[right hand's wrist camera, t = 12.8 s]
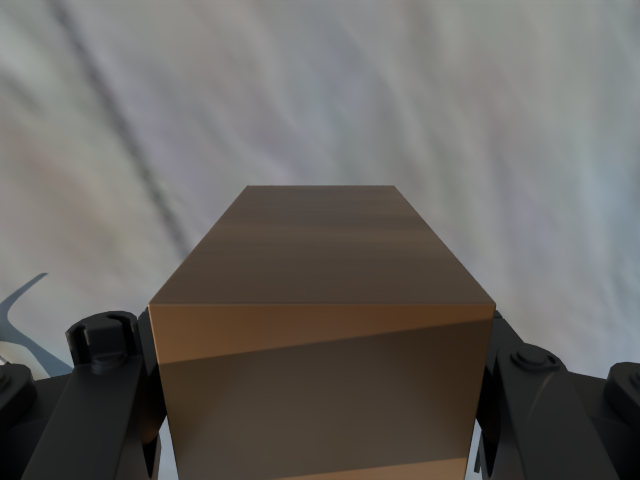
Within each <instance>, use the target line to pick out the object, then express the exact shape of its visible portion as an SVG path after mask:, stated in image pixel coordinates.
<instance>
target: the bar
mask: <svg viewBox="0 0 640 480" xmlns="http://www.w3.org/2000/svg"><path fill="white" fill-rule="evenodd" d="M148 309H149V315H150V321H151V326H152V332H153V338H154V343H155V349H156V354H157V360H158V366H159V371H160V377H161V383H162V388H163V394H164V400H165V405H166V411H167V416H168V422H169V428H170V433H171V439H172V445H173V450H174V456H175V461H176V467H177V473H178V478H179V480H465V475H466V469H467V464H468V458H469V453H470V447H471V442H472V436H473V430H474V425H475V419H476V414H477V408H478V403H479V397H480V392H481V386H482V381H483V375H484V370H485V364H486V359H487V353H488V348H489V342H490V337H491V331H492V326H493V320H494V315H495V309H496V303H495V302H494V300H493V299H492V298H491V297H490V296H489V295H488V294H487V292H486V291H485V290H484V289H483V288H482V287H481V285H480V284H479V283H478V282H477V281H476V280H475V279H474V277H473V276H472V275H471V274H470V273H469V272H468V270H467V269H466V268H465V267H464V266H463V265H462V264H461V262H460V261H459V260H458V259H457V258H456V257H455V255H454V254H453V253H452V252H451V251H450V250H449V249H448V247H447V246H446V245H445V244H444V243H443V242H442V240H441V239H440V238H439V237H438V236H437V235H436V234H435V232H434V231H433V230H432V229H431V228H430V227H429V225H428V224H427V223H426V222H425V221H424V220H423V219H422V217H421V216H420V215H419V214H418V213H417V212H416V211H415V209H414V208H413V207H412V206H411V205H410V204H409V202H408V201H407V200H406V199H405V198H404V197H403V196H402V194H401V193H400V192H399V191H398V190H397V189H396V187H395V186H247V187H246V188H245V189H244V190H243V191H242V193H241V194H240V195H239V196H238V197H237V198H236V200H235V201H234V202H233V203H232V204H231V206H230V207H229V208H228V209H227V210H226V212H225V213H224V214H223V215H222V216H221V217H220V219H219V220H218V221H217V222H216V223H215V225H214V226H213V227H212V228H211V229H210V231H209V232H208V233H207V234H206V235H205V236H204V238H203V239H202V240H201V241H200V242H199V244H198V245H197V246H196V247H195V248H194V250H193V251H192V252H191V253H190V254H189V255H188V257H187V258H186V259H185V260H184V261H183V263H182V264H181V265H180V266H179V267H178V269H177V270H176V271H175V272H174V273H173V275H172V276H171V277H170V278H169V279H168V280H167V282H166V283H165V284H164V285H163V286H162V288H161V289H160V290H159V291H158V292H157V294H156V295H155V296H154V297H153V298H152V299H151V301H150V302H149V303H148Z"/></svg>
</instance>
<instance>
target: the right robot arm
mask: <svg viewBox="0 0 640 480" xmlns="http://www.w3.org/2000/svg"><path fill="white" fill-rule="evenodd" d="M65 334H66V337H67V341H68V345H69V348H70V352H71V356H72V359H73V363H74V369H73V371H72V373H70V374H66V375H62V376H57V377H52V378H47V379H42V380H37V381H34V379H33V376H32V373H31V370H30V369H29V368H28V367H27V366H25V365H22V364H6V365H0V480H158V472H159V463H160V455H161V441H160V435H159V430H160V428H161V426H162V423H163V421H164V419H165V417H166V415H167V411H166V405H165V400H164V394H163V388H162V383H161V377H160V371H159V366H158V360H157V354H156V349H155V343H154V338H153V332H152V326H151V321H150V315H149V309H148V307H147V308H146V309H145V312H143V313H142V314H141V315H140V316H139V317H138V320H137V317H136V316H135V315H133V314H132V313H130V312H125V311H108V312H104V313H99V314H95V315H92V316H90V317H87V318H84V319H82V320H81V321H79V322H77V323H76V324H74V325H72V326H71V327H70V328H69V329H68V330H67V331H66V333H65ZM167 419H168V416H167ZM476 419H477V421H478V423H479V425H480V427H481V429H482V430H481V435H480V441H479V446H478V451H477V456H476V461H475V467H474V472H476V473H479V471H480V466H481V471H482V479H483V480H640V363H632V362H622V363H616V364H615V365H613V366H612V367H611V368H610V371H609V374H608V377H607V379H602V378H597V377H592V376H587V375H582V374H577V373H573V372H569V371H568V370H567V368H566V366H565V365H564V364H563V363H562V361H561V360H560V359H559V358H558V357H557V356H555V355H554V354H552V353H551V352H549V351H547V350H545V349H543V348H541V347H538V346H535V345H531V344H527V343H524V342H523V341H522V339H521V338H520V337H519V336H518V335H517V333H516V332H515V331H514V330H513V329H512V327H511V326H510V325H509V324H508V323H507V321H506V320H505V319H503V318H502V315H501V314H500V313H499V312H498V311H497V310H496V309H495V315H494V320H493V326H492V331H491V337H490V342H489V348H488V353H487V359H486V364H485V370H484V375H483V381H482V386H481V392H480V397H479V403H478V408H477V414H476ZM168 425H169V422H168ZM169 430H170V428H169Z"/></svg>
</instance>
